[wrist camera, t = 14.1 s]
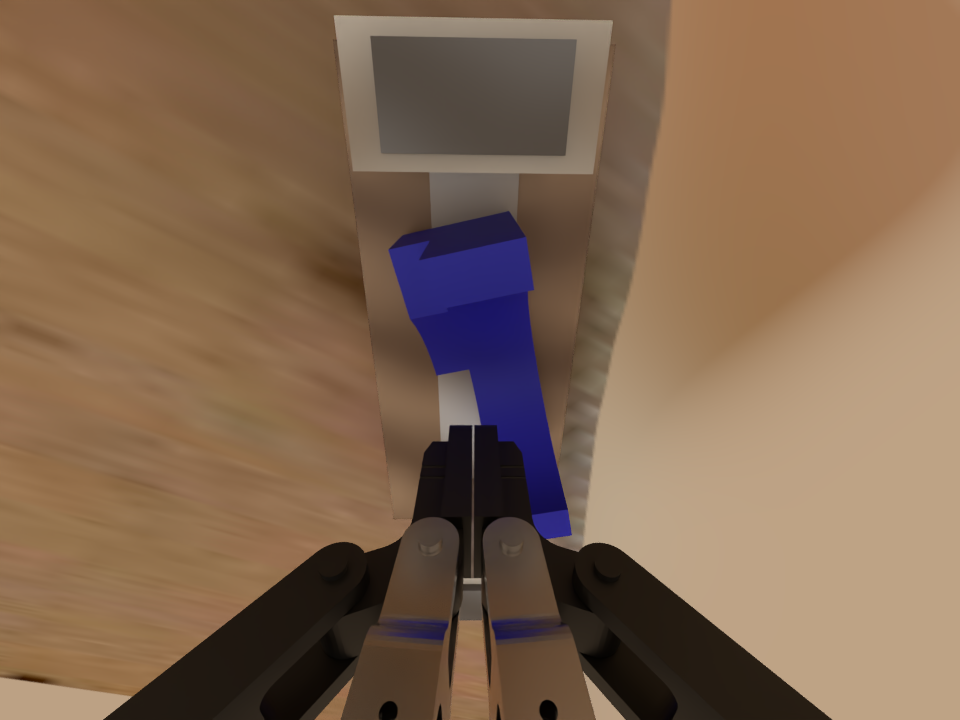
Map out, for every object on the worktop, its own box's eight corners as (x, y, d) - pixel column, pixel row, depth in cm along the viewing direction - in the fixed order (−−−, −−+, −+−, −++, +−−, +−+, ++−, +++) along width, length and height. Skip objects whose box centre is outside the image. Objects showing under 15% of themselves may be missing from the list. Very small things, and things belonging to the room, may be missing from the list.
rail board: (345, 50, 15) (217, -59, 8) (603, 54, 15) (727, -48, 8) (398, 500, 26) (366, 637, 19) (547, 500, 26) (576, 637, 19)
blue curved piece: (402, 235, 16) (366, 271, 11) (509, 211, 16) (526, 237, 10) (467, 454, 22) (463, 551, 16) (547, 440, 21) (571, 535, 16)
